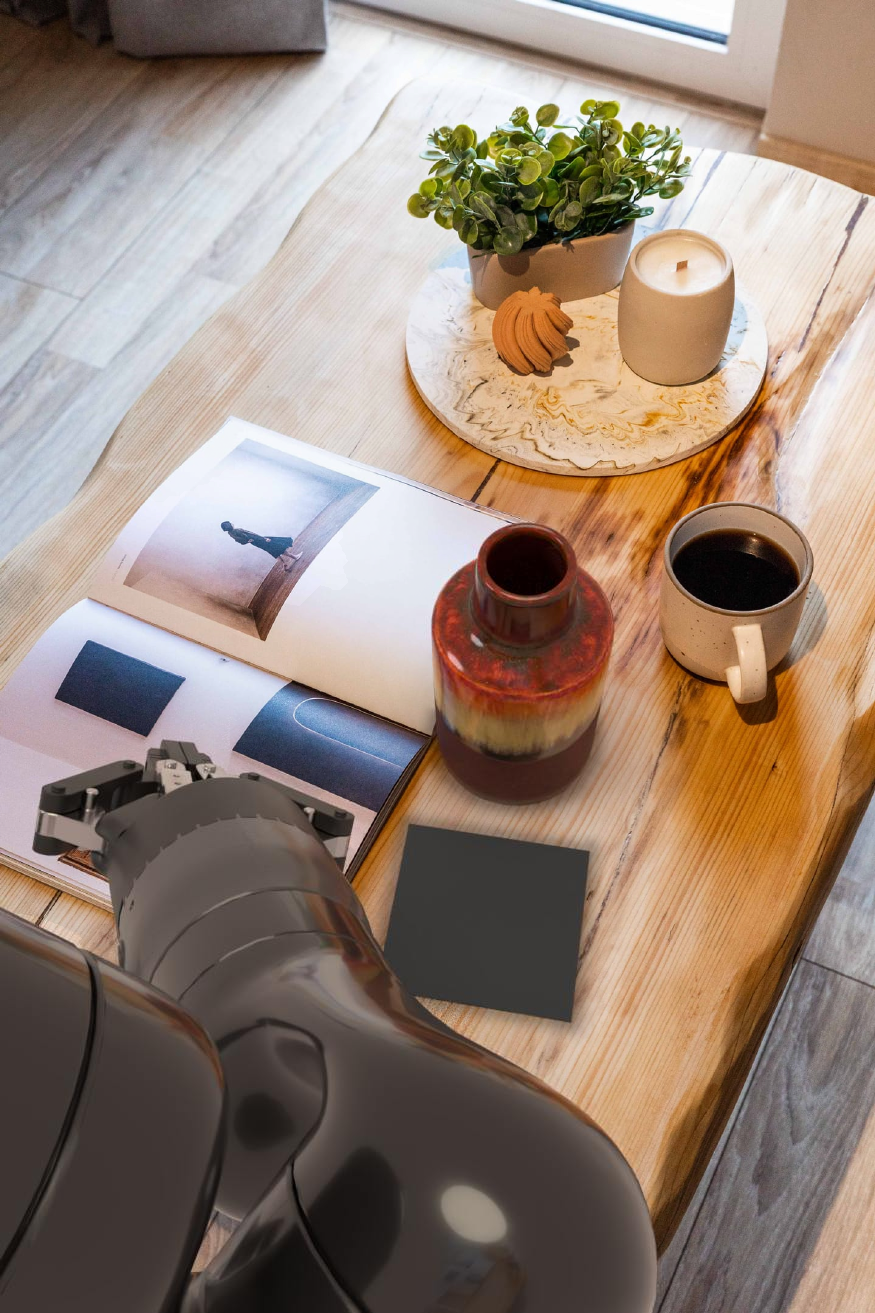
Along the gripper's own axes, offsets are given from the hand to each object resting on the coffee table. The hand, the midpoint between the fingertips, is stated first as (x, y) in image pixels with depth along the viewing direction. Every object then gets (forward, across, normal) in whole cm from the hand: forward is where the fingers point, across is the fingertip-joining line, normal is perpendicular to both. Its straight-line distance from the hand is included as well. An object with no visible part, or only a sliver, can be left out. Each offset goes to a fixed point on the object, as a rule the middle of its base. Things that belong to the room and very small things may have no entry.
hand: (172, 760), depth 52 cm
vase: (+17, -26, +1) cm, 31 cm away
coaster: (+9, -23, +11) cm, 27 cm away
